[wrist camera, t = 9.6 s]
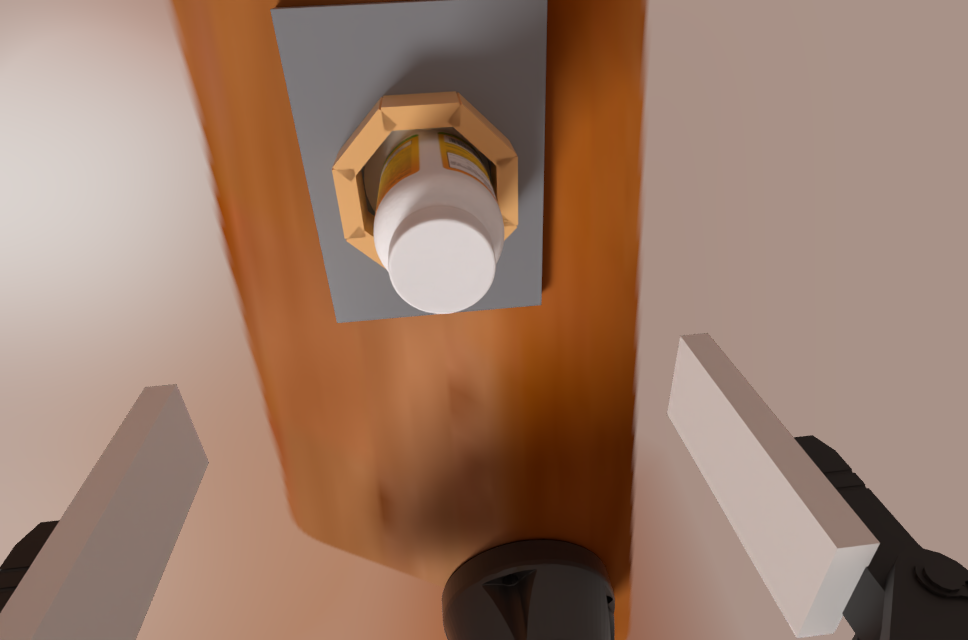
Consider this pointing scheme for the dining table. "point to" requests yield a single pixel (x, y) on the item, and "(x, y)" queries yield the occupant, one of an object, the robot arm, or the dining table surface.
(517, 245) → the socket plate
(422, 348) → the dining table surface
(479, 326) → the dining table surface
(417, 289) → the supplement bottle
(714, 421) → the robot arm
